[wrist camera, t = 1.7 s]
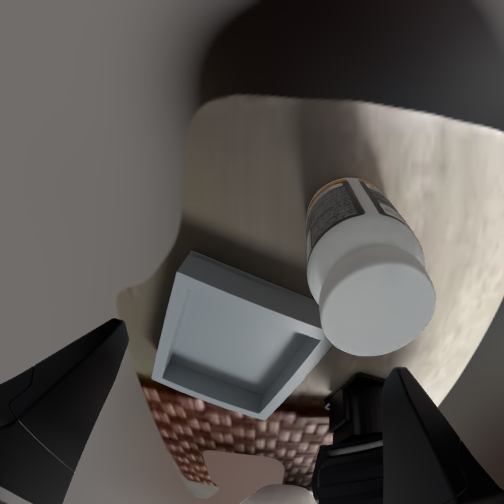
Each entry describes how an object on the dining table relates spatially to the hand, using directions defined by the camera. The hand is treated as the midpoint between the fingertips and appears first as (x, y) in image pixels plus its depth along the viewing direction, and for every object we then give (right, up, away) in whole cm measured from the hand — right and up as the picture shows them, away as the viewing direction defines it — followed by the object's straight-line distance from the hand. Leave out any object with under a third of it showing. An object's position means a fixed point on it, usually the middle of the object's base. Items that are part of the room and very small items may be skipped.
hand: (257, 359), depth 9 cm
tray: (-1, -4, +17) cm, 18 cm away
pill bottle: (+6, +6, +10) cm, 13 cm away
